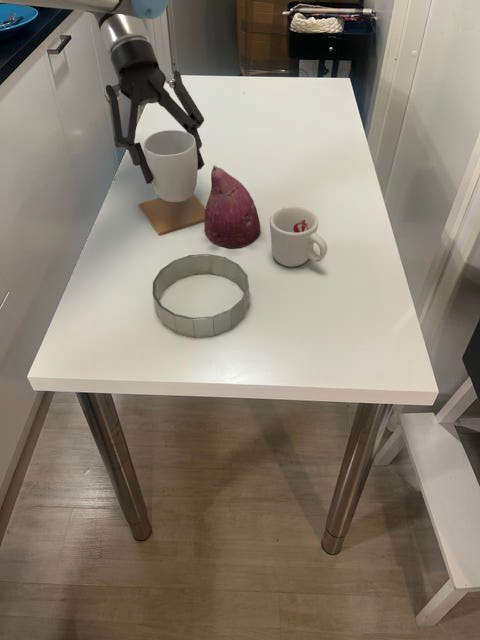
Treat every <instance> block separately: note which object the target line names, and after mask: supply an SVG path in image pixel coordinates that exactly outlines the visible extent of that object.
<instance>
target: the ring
mask: <svg viewBox="0 0 480 640" xmlns="http://www.w3.org/2000/svg"><path fill="white" fill-rule="evenodd" d="M205 274H206V275H208V274H210V275H214V276H221V277H224V278H226V279H228V280H229V281H231V282H234V283H235V284H236V285H238V287H239V288H240V289H241V290H242V292H243V295H242V297H241V299H240V300H239V301H238V302H236V304H234V305H233V306H232V307H231V308H229V309H227V310H225V311H222V312H220V313H217V314H214V315H212V316H199V317H198V316H197V317H191V316H188V315H182V314H178V313H175V312H173V311H171V310H169V309H168V308H167V307H165V306H164V305H162V303H161V302H160V299H161V298H162V295H163V294H164V292H165V290H166V289H168V288H169V287H170V286H171V285H172V284H174V283H175V282H177V281H179V280H182V279H184V278H187V277H190V276H194V275H205ZM152 300H153V304H154V310H155V313H156V316H157V317H158V319H159V321H160V322H161V324H162V326H164V327H166V328H167V329H168V330H170V331H172V332H173V333H174V334H176V335H180V336H185V337H189V338H194V339H197V338H198V339H199V338H213V337H216V336H219V335H221V334H224V333H226V332H229V331H231V330H233V329H235V327H236V326H237V325H238V324H240V323H241V322H242V321H243V320H244V319H245V317H246V314H247V312H248V311H249V307H250V283H249V277H248V274H247V272H246V271H245V270H244V269H243V268H242V267H241V265H240V264H238V263H237V262H236V261H233V260H231V259H229V258H227V257H225V256H223V255H217V254H211V253H200V254H189V255H186V256H183V257H180V258H177V259H173V260H172V261H170V262H169V263H168V264H167V265H165V266H164V267H163V268H161V269H160V270H159V271H158V273H157V274H156V276H155V277H154V280H153V281H152Z"/></svg>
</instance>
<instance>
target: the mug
mask: <svg viewBox="0 0 480 640" xmlns="http://www.w3.org/2000/svg"><path fill="white" fill-rule="evenodd" d="M143 152H144V155H145V158H146V161H147V164H148V166H149V168H150V171H151V174H152V177H153V180H152V182H151V184H152V186H153V188H154V191H155V193H156V194H157V196H158V198H161V199H163V200H165V201H169V202H180V201H185V200H187V199H188V198H190V197H191V196H192V195H194V193H195V191H196V188H197V182H198V175H199V174H198V171H199V170H198V158H197V147H196V142H195V138H194V137H193V135H191V134H190V133H188V132H187V131H185V130H177V129H176V130H175V129H174V130H172V129H170V130H169V129H168V130H162V131H158V132H154V133H152V134H151V135H149V136H148V137H147V138H146V139H145V141H144V143H143Z"/></svg>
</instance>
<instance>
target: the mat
mask: <svg viewBox="0 0 480 640" xmlns="http://www.w3.org/2000/svg"><path fill="white" fill-rule="evenodd" d="M138 208H139V209H140V210H141V212H142V213H143V215H144V216H145V217H146V219H147V220H148V222H149V223H150V224H151V226H152V227H153V230H155V232H156V234H158V236H163V235H165V234H170V233H172V232H175V231H179V230H181V229H185V228H188V227H192V226H194V225H197V224H200V223H204V218H205V209H206V206H204V205H203V203H201V201H200V200H199V199H198V198H197V197H196V196H195V195H194V194H193V195H192V196H191V197H190V198H188V199H187V200H185V201H180V202H169V201H165V200H163V199H161V198H160V197H157V198H154V199H150V200H147V201H143V202H140V203H138Z"/></svg>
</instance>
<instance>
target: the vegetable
mask: <svg viewBox="0 0 480 640" xmlns="http://www.w3.org/2000/svg"><path fill="white" fill-rule="evenodd" d="M210 180H211V181H210V182H211V187H210V192H209V196H208V198H207V201H206V205H205V218H204V222H203V224H204V234H205V236H206V237H207V239H208V240H209V241H210V242H211V243H212V244H214V245H217V246H220V247H223V248H226V249H236V248H242V247H245V246H249V245H251V244H252V243H254V242H255V241H256V240H257V239H258V237H259V236H260V234H261V221H260V217H259V213H258V210H257V207H256V204H255V201H254V199H253V196H252V195H251V194H250V192H249V191H248V190H247V188H246V187H245V185H243V183H242V182H241V181H239V180H238V179H236V178H235V177H234V176H233V175H231V174H229V173H228V172H226V170H224V169H223V168H221V167H218V166H216V164H213V166H212V169H211V173H210Z"/></svg>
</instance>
